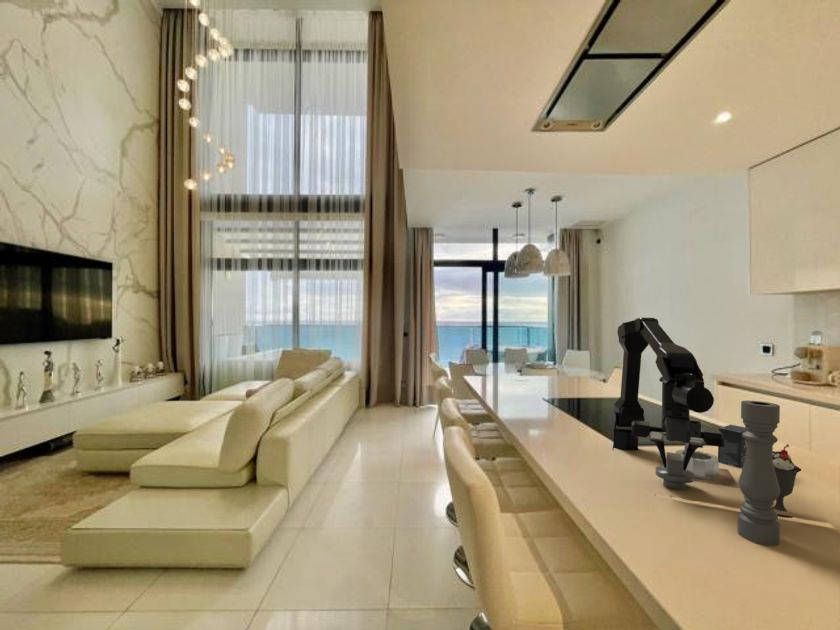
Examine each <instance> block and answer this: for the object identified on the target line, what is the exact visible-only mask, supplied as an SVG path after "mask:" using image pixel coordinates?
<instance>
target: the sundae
mask: <svg viewBox="0 0 840 630" xmlns="http://www.w3.org/2000/svg"><path fill="white" fill-rule="evenodd" d="M786 448H790V445H789V444H788V443H786V445H785V446H784V447H783V449H781V450H780V451H779V450H778V451H775V450H773V465H774V469H775V472H776V476H777V480H778V484H779V487H780V495H779V497H778V498H777V499H776V500H775V503H774V505H773V506H772V507H773V509H774V510H775V511H779V512H787V511H788V510H787V509H786V507H785V504H784V499H785V497H788V496H790V495H791V494H792V493H793V490H794V488H795V487H794V486H795V482H796V477H797V474H798V473H800V472H801V471H802V468H800V467H799V466H797V465H796V464H795V463H794V462H793V460H792V458H791V456H790V454H789V452H788V450H786ZM777 515H778V517H780V518H786V519H792V518H794V516H791V515H786V514H780V513H777Z"/></svg>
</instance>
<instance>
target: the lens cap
mask: <svg viewBox="0 0 840 630" xmlns="http://www.w3.org/2000/svg"><path fill="white" fill-rule="evenodd" d="M683 465H684V461H683V458H682V456H681V454H678V453H676V452H669V451H666V468H664V466H661V465H658V466H656V467H655V473H654V474H655V475H656V476H657V477H658V478H660V479H663V480H662V481H663V482H662V483H663V486H665V487H666V488H669V489H672V490H678V491H681V490H686V488H687V487H686V486H687V485H686V484H691V483H694V482H695V481H694V473H692V472H691V471H689V470H685V471H684V470H683Z"/></svg>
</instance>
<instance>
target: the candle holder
mask: <svg viewBox="0 0 840 630" xmlns="http://www.w3.org/2000/svg"><path fill="white" fill-rule="evenodd" d="M780 407H781V406H780V405H779V404H777V403H773V402H768V401H767V402H766V401H760V400H741V402H740V419H742V424H744V427H745V428H746V429H747V431H746V432H744V433H742V436H743V438H745V440H746V441H747V448H746V459H745V462H744V466H743V467H742V470H741V473H740V475H739V479H738V486H739V488H738V489H740V491H741V494H742V495H743V499H744V500H745V501H744V502H742V504H741V505H739V510H740V512H739V513H738V514H737V533H738V535H739V536H740V537H741V538H743V539H745V540H748V541H750V542H752V543H755V544H758V545H763V546H770V545H771V546H773V547H774V546H779V544H780V542H781V541H780V538H781V537H780V536H781V535H780V534H781V525H780V523H779V521H778V519H779V516H778V515H777V514H778V513H777V512H776V510H775V509H773V507H774V506H775V502H776V499H777V498H778V497H779V495H780V487H779V484H778V480H777V476H776V472H775V469H774V465H773V451H774V450H773V446H774V445H775V444H776V443H777V442H778V440H779V439H778V438H777V437H776V435H774V434H773V433H774V432H775V431H776V430H777V429H778V425H779V424H780V416H781V413H780V412H781V411H780V410H781V408H780Z"/></svg>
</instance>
